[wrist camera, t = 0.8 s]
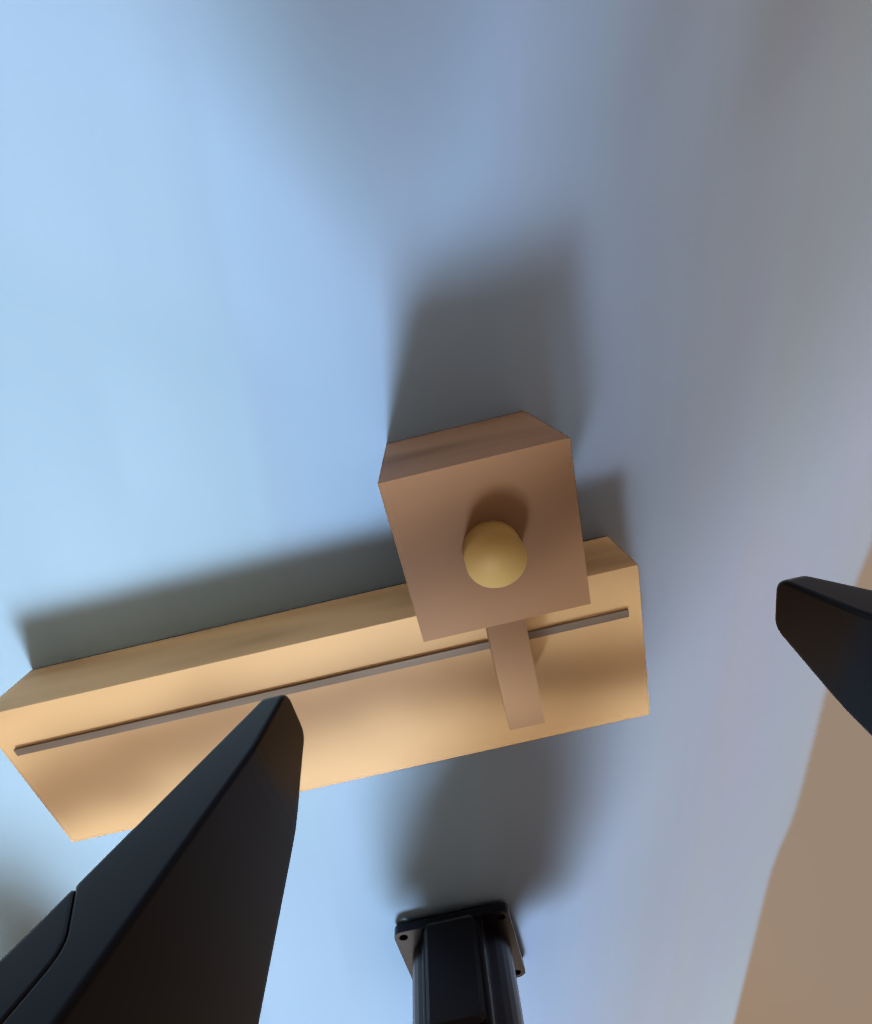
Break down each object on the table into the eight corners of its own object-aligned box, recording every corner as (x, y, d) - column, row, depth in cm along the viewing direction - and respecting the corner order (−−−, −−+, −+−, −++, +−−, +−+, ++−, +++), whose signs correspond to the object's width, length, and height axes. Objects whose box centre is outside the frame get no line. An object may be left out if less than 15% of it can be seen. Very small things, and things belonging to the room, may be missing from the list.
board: (621, 671, 20) (651, 716, 18) (110, 786, 21) (71, 844, 18) (607, 536, 18) (639, 566, 15) (31, 670, 19) (-26, 719, 16)
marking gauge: (557, 629, 19) (615, 739, 14) (444, 655, 20) (458, 774, 14) (522, 410, 16) (581, 444, 11) (386, 443, 16) (375, 493, 11)
